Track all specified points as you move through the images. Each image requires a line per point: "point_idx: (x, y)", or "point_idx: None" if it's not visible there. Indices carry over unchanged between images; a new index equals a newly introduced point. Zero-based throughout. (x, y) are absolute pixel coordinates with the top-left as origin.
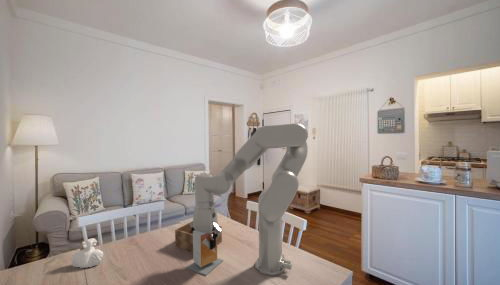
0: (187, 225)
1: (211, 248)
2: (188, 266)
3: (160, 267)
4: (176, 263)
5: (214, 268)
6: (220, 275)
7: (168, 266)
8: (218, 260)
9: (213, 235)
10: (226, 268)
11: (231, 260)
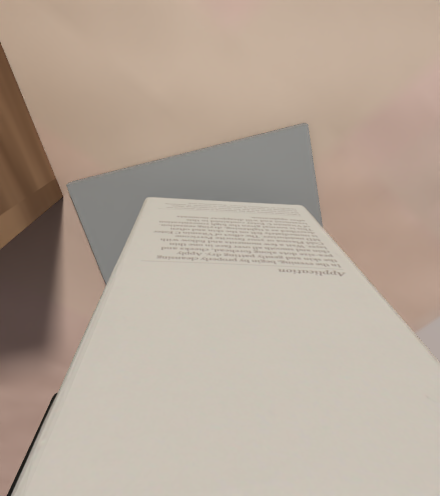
0: None
1: None
2: None
3: (3, 481)
4: (26, 402)
5: None
6: (426, 269)
7: (27, 448)
8: (276, 162)
9: None
10: (412, 177)
11: (371, 44)
